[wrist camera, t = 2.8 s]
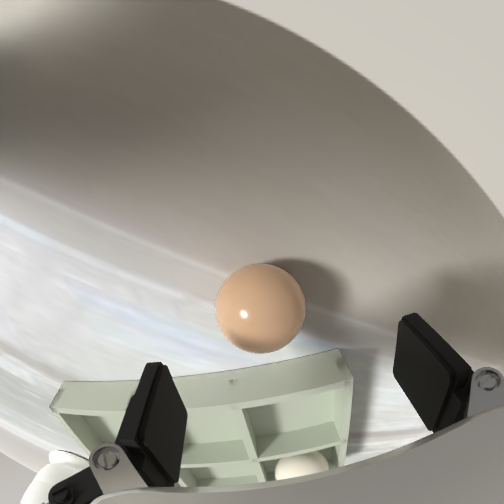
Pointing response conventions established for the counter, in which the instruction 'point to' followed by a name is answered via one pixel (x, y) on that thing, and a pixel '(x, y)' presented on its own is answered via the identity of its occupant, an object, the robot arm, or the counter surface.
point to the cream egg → (300, 465)
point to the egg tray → (232, 417)
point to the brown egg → (260, 308)
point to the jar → (53, 476)
